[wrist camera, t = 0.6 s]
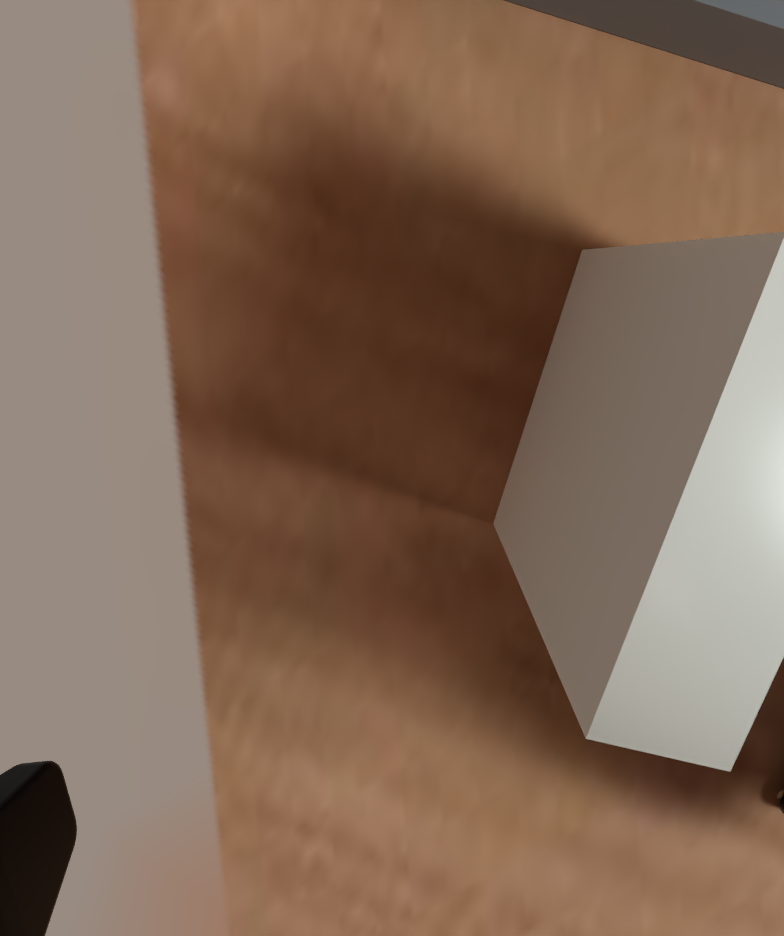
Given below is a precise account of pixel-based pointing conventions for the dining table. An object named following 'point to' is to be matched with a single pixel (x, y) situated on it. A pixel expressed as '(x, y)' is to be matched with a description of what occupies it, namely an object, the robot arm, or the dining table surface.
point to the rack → (690, 29)
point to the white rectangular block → (659, 494)
